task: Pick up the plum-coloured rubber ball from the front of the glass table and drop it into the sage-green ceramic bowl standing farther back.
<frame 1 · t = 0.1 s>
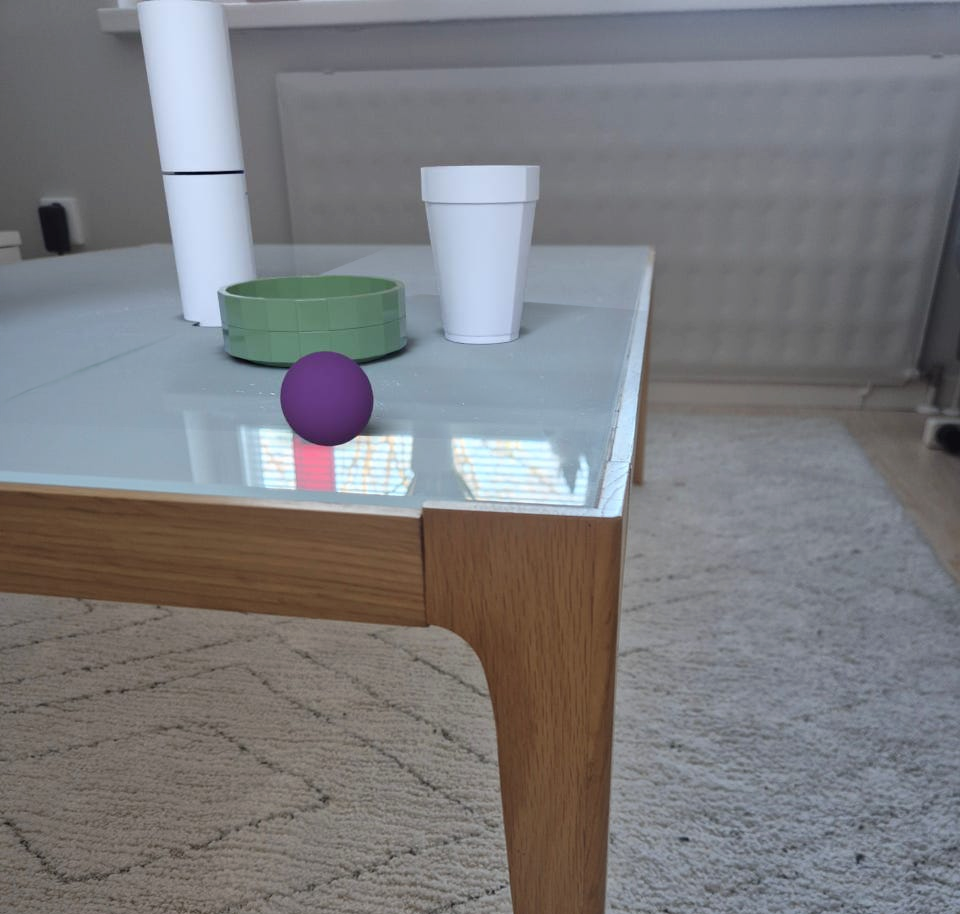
foam cup: (482, 339, 80), on the table
ball: (327, 399, 51), point 2 cm above the table
cylindrical container: (223, 322, 90), on the table
bowl: (318, 352, 75), on the table
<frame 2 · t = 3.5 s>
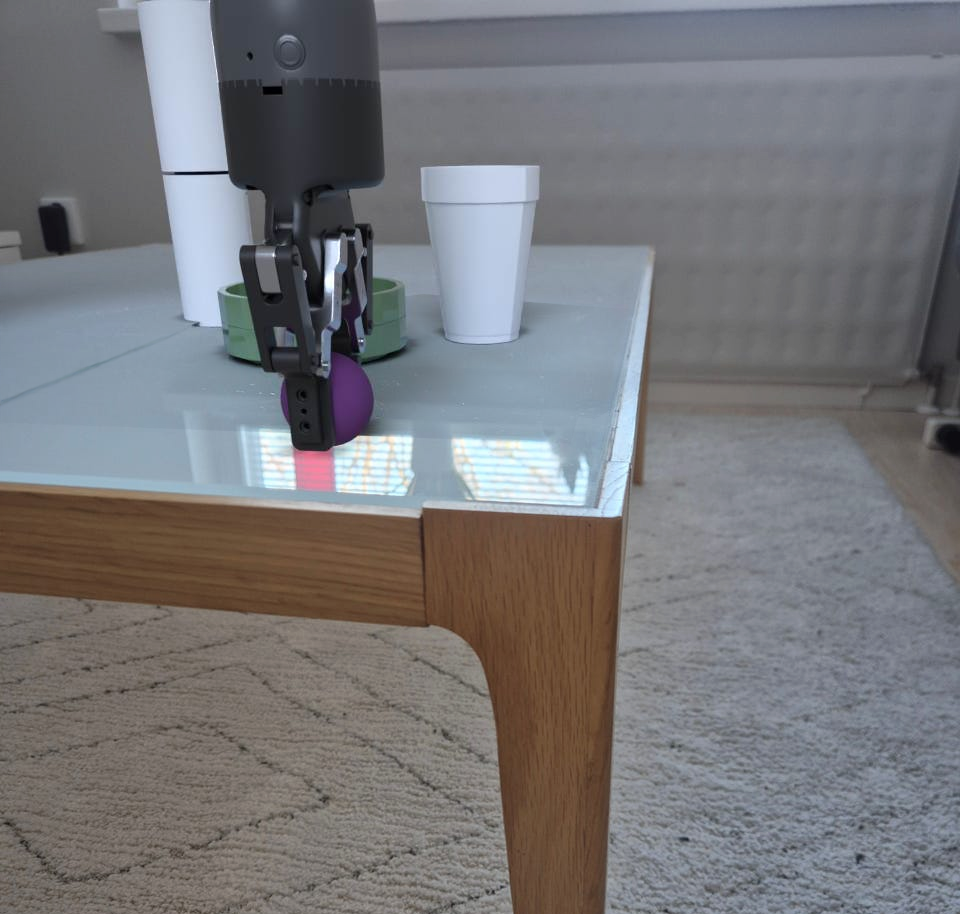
hand: (330, 433, 52), 1 cm above the table, tool pointing down, fingers closed on ball, 5 cm apart
ball: (327, 399, 51), point 2 cm above the table, touching gripper
everything else where it was.
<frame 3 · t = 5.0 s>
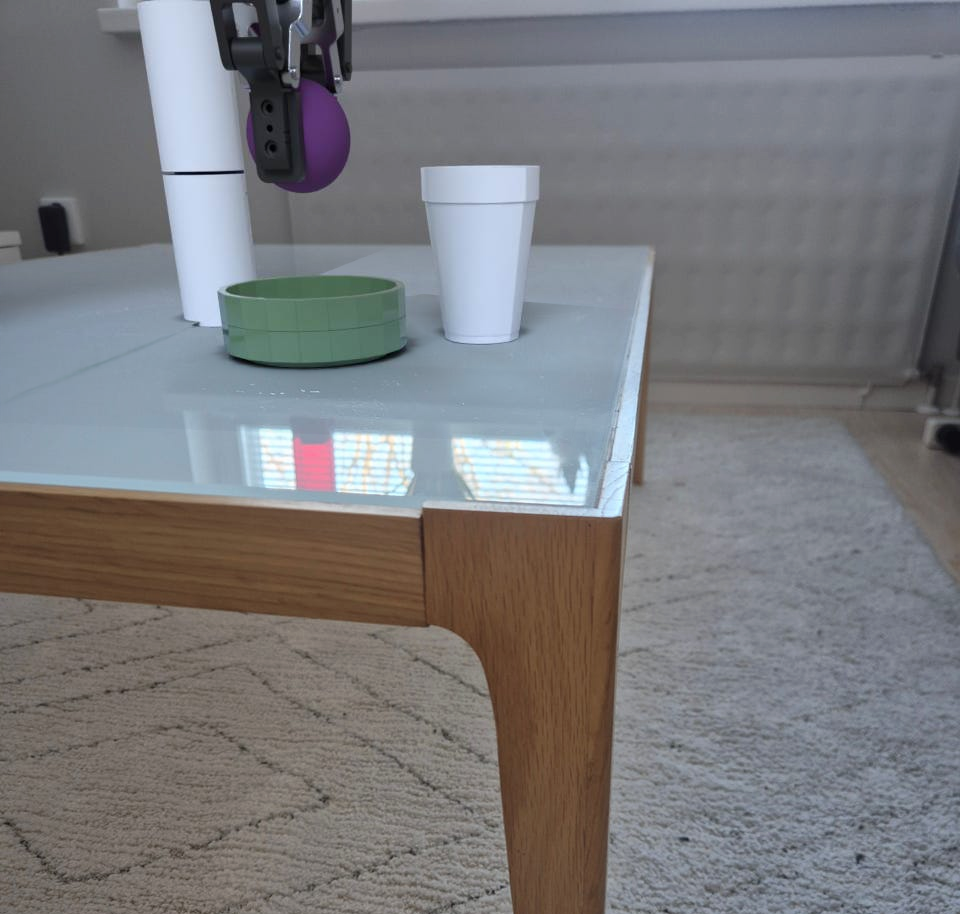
hand: (301, 178, 47), 13 cm above the table, tool pointing down, fingers closed on ball, 5 cm apart
ball: (298, 136, 46), point 15 cm above the table, touching gripper
everything else where it was.
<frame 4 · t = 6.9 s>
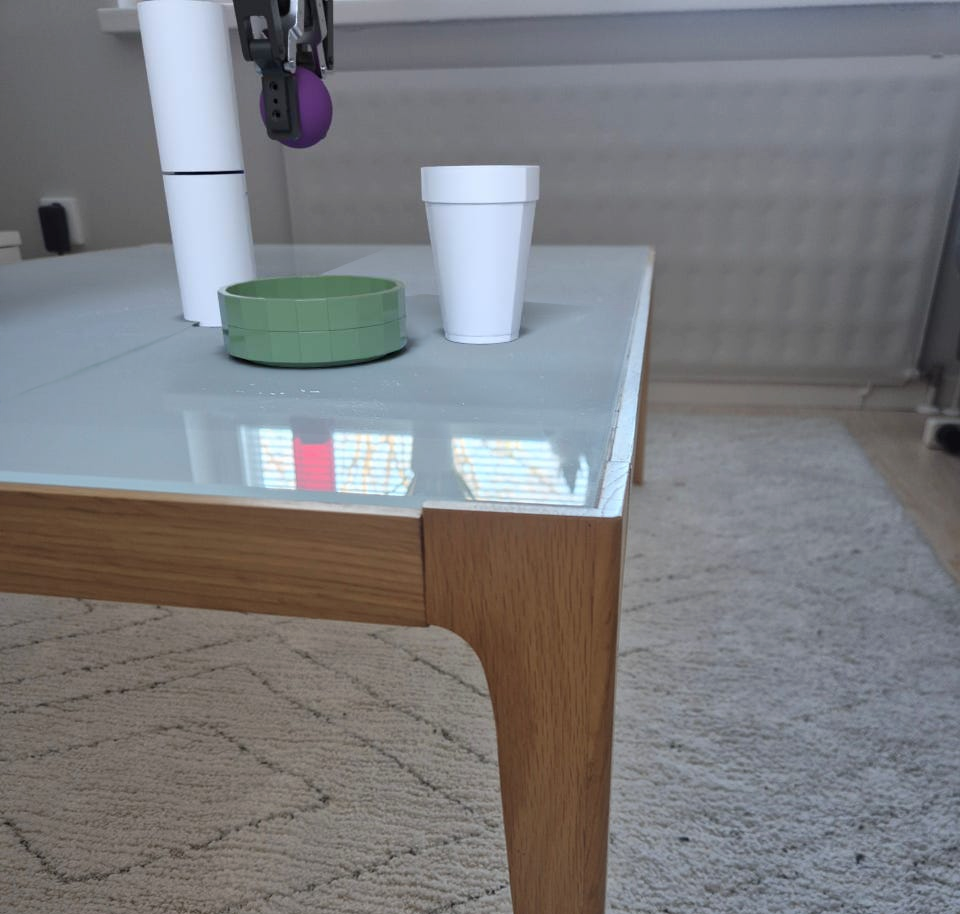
hand: (298, 138, 66), 15 cm above the table, tool pointing down, fingers closed on ball, 5 cm apart
ball: (296, 108, 65), point 17 cm above the table, touching gripper
everything else where it was.
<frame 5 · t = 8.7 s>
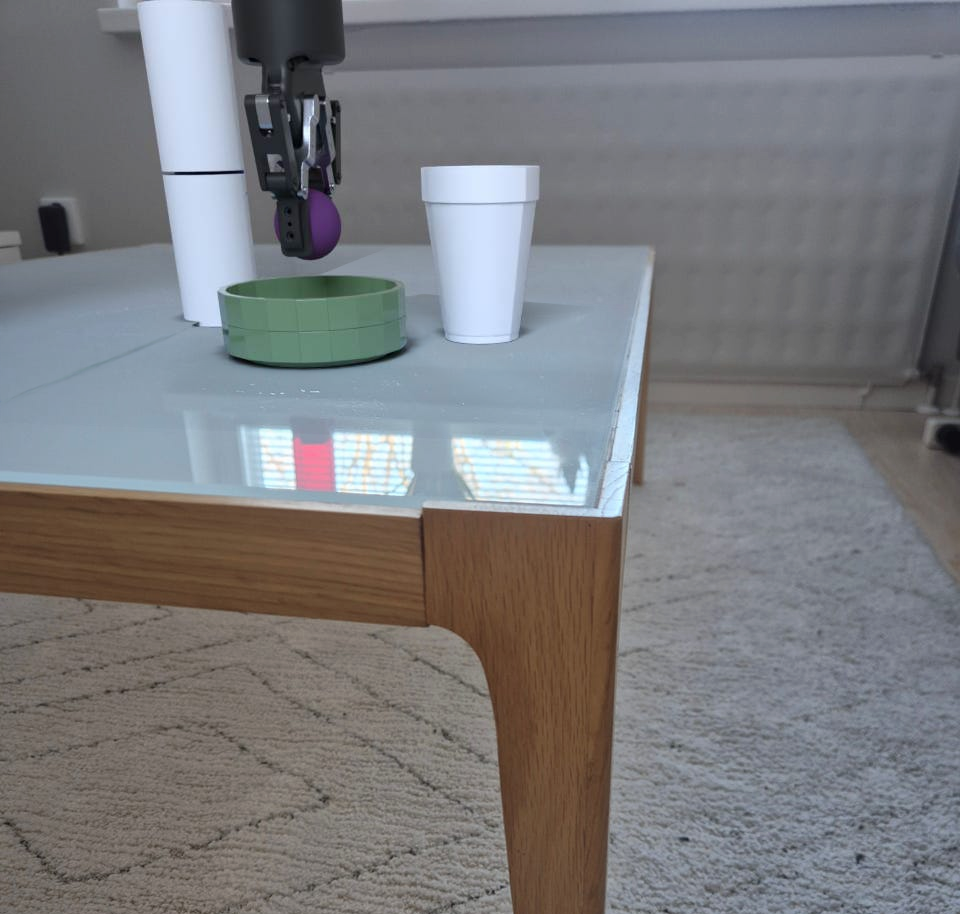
hand: (309, 251, 72), 8 cm above the table, tool pointing down, fingers closed on ball, 5 cm apart
ball: (307, 224, 71), point 9 cm above the table, touching gripper
everything else where it was.
when the fingers open (3 cm above the table, at t = 10.4 s): ball drops 2 cm, resting on bowl.
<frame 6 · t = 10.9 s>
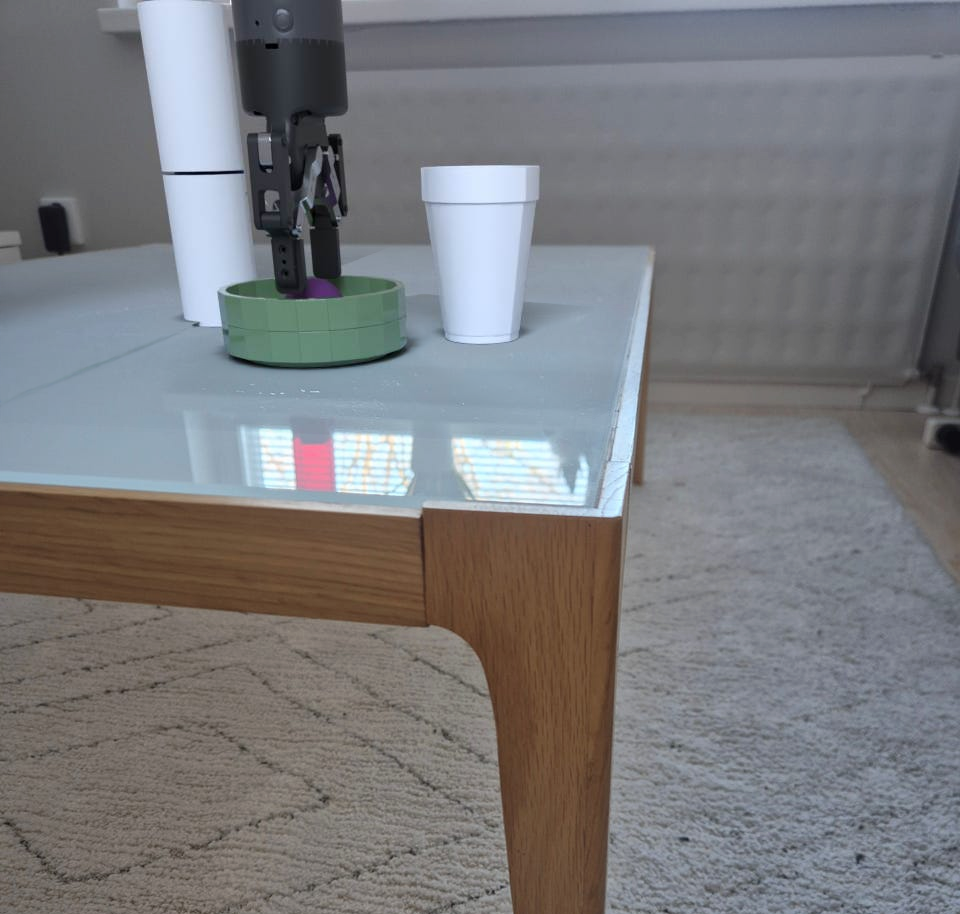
hand: (310, 285, 73), 5 cm above the table, tool pointing down, fingers open, 8 cm apart
ball: (314, 311, 74), point 3 cm above the table, touching bowl
everything else where it was.
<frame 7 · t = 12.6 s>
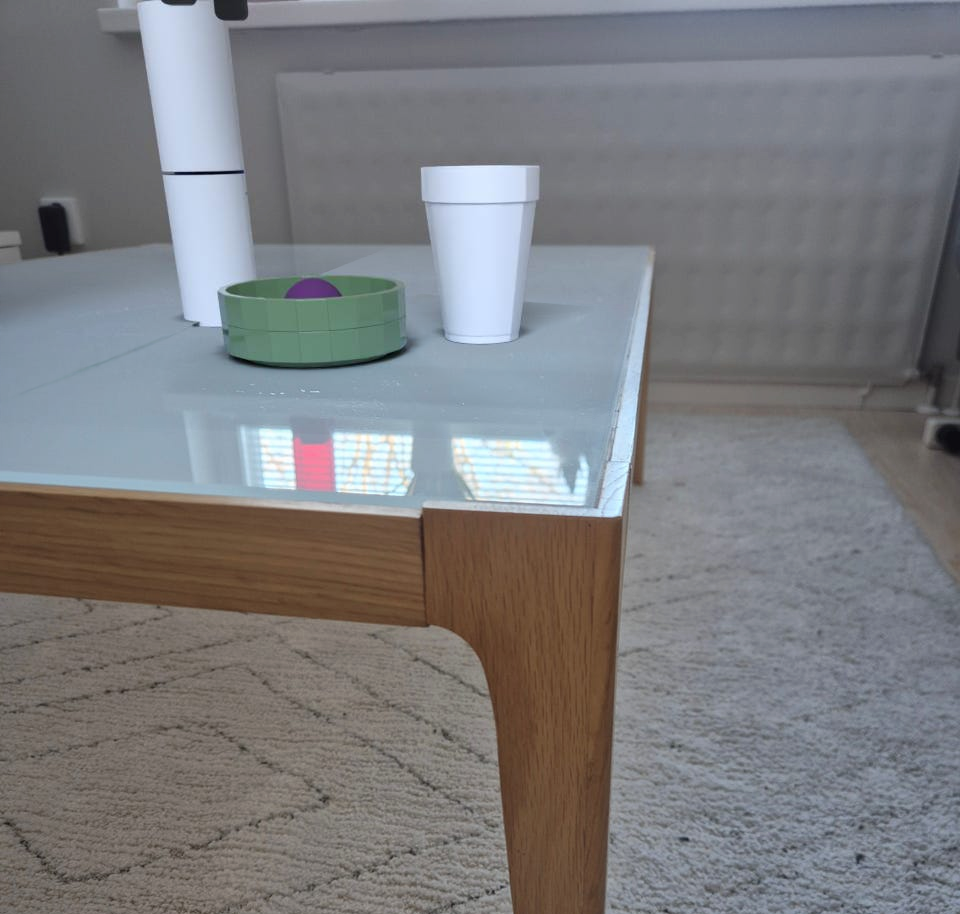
hand: (207, 13, 62), 22 cm above the table, tool pointing down, fingers open, 8 cm apart
nothing on the table moved.
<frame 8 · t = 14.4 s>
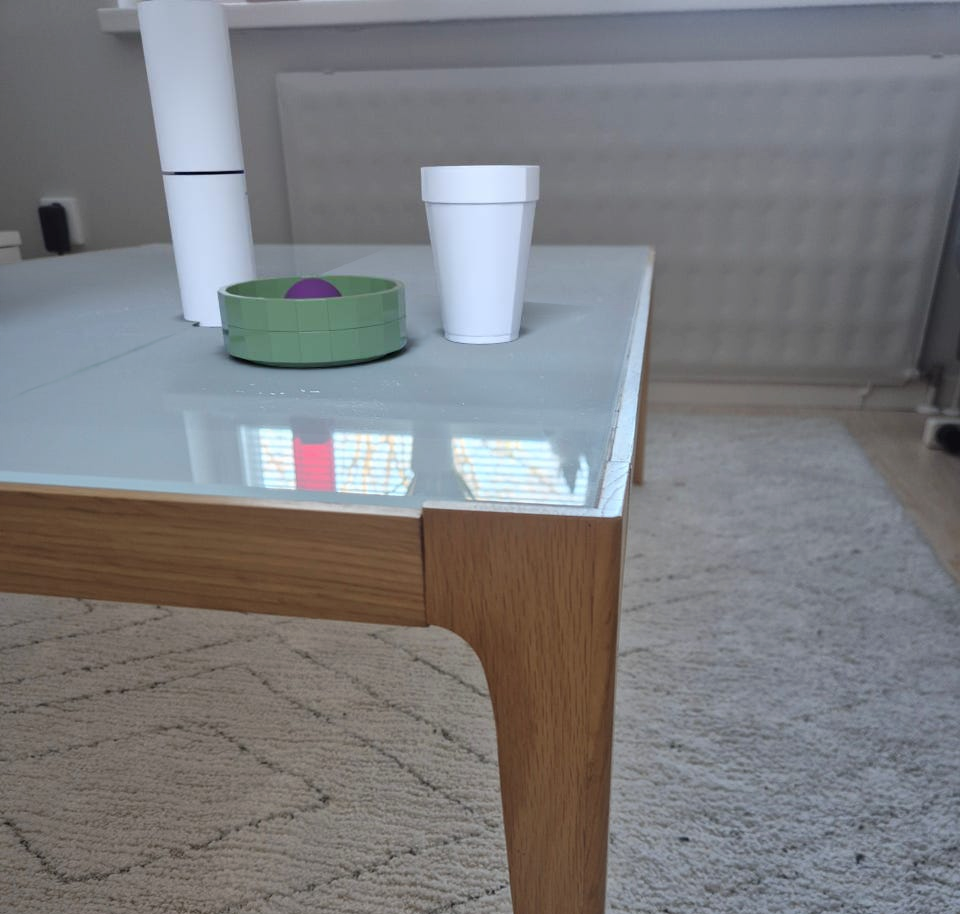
nothing on the table moved.
at the end: ball inside the target area in the bowl (0.0 cm from its centre), point 3.1 cm above the bowl's base; the gripper is holding nothing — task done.
